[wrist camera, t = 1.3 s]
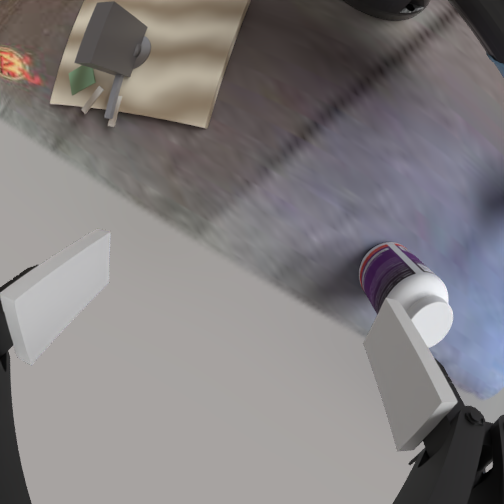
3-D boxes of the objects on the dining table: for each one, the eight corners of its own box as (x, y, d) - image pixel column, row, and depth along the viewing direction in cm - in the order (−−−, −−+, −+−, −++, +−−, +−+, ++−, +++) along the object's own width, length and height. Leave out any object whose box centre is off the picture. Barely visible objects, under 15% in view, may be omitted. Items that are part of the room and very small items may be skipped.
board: (93, -5, 25) (86, -9, 24) (250, 1, 26) (249, -6, 25) (53, 117, 33) (45, 117, 31) (202, 144, 34) (199, 144, 32)
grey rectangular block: (149, 27, 26) (116, 1, 18) (120, 119, 31) (78, 117, 22) (130, 26, 26) (94, 2, 18) (102, 117, 31) (58, 114, 22)
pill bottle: (356, 297, 39) (387, 366, 26) (356, 242, 37) (397, 297, 23) (408, 290, 38) (453, 351, 25) (412, 236, 36) (469, 284, 22)
